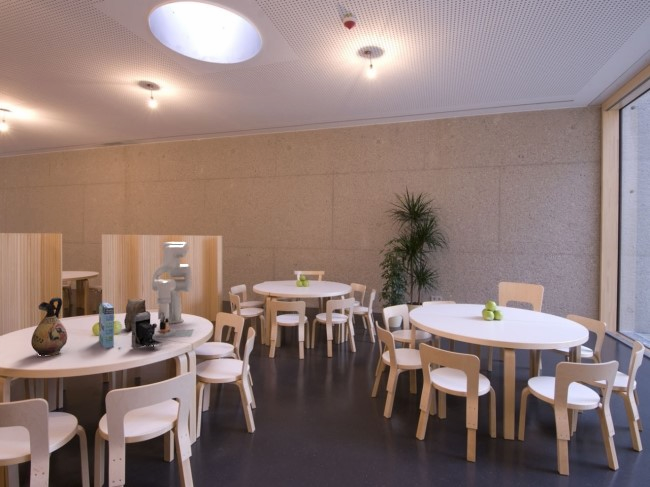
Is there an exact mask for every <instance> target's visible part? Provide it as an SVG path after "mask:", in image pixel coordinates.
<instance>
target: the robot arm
mask: <svg viewBox="0 0 650 487" xmlns="http://www.w3.org/2000/svg"><path fill="white" fill-rule="evenodd" d="M189 248H190V246H189V244H188V243H187V242H185V241H166V242H163V243H162V250H163V252H162V259H161V265H160V266H159V267H158V268H157V269H156V270H155V271H154V272H153V274H152V277H151V278H152V280H151V289H152V290H153V291H154V292H157V304H158V312H157V319H158V320H160V321H159V329H160V330H164V329H166V323H165V322H168V323H169V324H179V323H180V324H181V323H182V322H184V320H185V319H184V318H182V296H181V295H180V293H183V292H184V293H185V292H190V291H191V290H192V269H191V265H190V264H187V263H185V264H183V263H181V259H183V258H185V257H186V256H187V254H188V252H189ZM165 273H167V274H168V276H169V277H170V278H166V279H165V278H160V279H159V277H160V276H161V275H163V274H165Z"/></svg>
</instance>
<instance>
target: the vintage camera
mask: <svg viewBox="0 0 650 487" xmlns="http://www.w3.org/2000/svg"><path fill="white" fill-rule="evenodd" d="M157 326H158V324H157V323H151V312H149V311H147V310H146V312H144V313H139V314H135V313H134V315H132V331H131V348H132V349H133V350H134V349H137V348H138V349H139V348H142V347H152V351H155V345H159V344H162V342H161V341H159V340H157V339H152V336H153V335H154V333H155V330H156V328H157Z"/></svg>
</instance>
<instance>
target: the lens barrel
mask: <svg viewBox="0 0 650 487" xmlns="http://www.w3.org/2000/svg"><path fill="white" fill-rule="evenodd" d="M176 330H177V329H176V328H175V329H174V328H169V332H165V333H160V328H159V329H155V333H154V335H153V336H154V337H168V336H172V335H175V333H176Z"/></svg>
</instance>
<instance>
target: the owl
mask: <svg viewBox="0 0 650 487" xmlns="http://www.w3.org/2000/svg"><path fill="white" fill-rule="evenodd" d="M125 309H126V310H125V316H124V327H125V331H126V332H127V333H130V332H132V315H134V313H135V314H139V313H144V312H146V311H147V309H146V299H141V298H139V299H132V298H128V299H127V303H126V307H125Z"/></svg>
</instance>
